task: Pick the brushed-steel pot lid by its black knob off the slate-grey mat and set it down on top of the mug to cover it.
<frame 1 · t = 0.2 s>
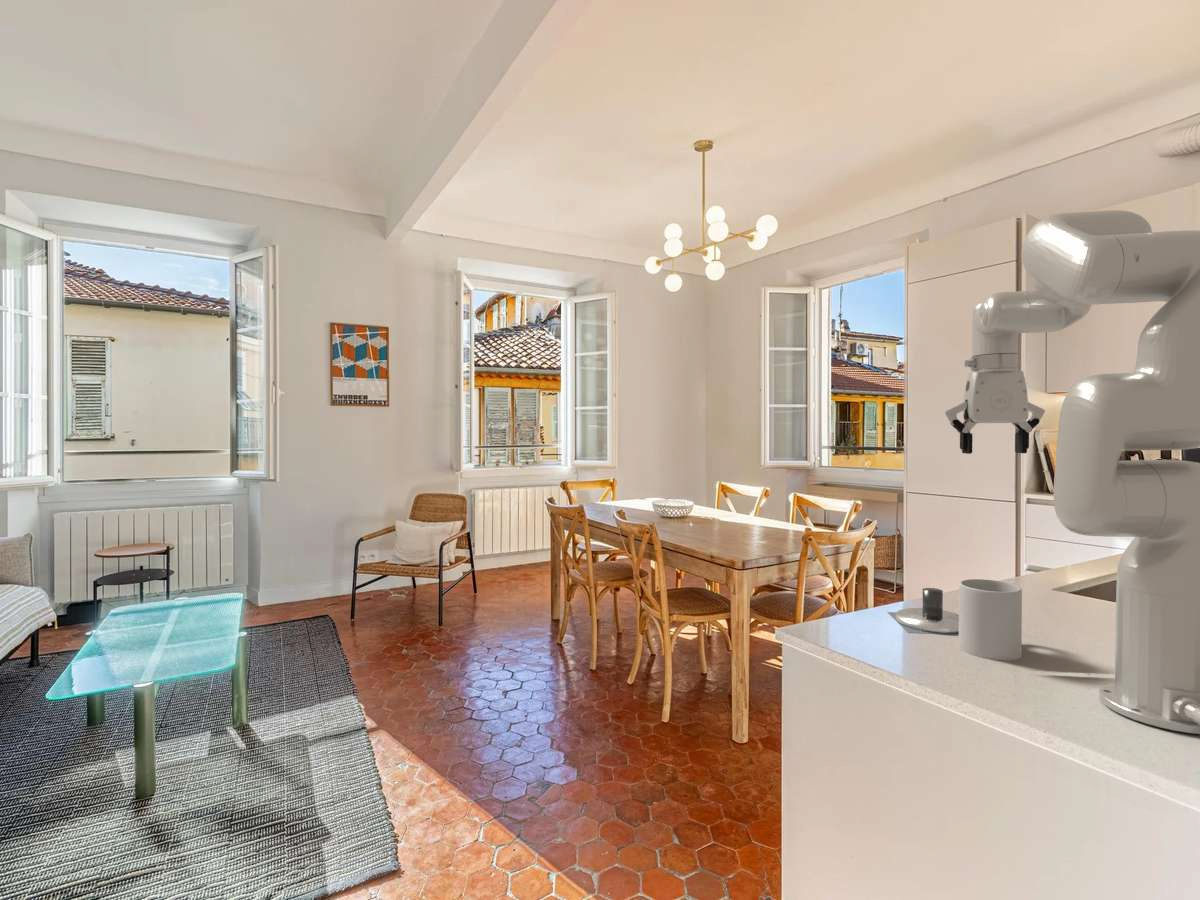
hand: (993, 453, 121), 31 cm above the table, fingers open, 9 cm apart
lid: (932, 623, 112), point 1 cm above the table, touching mat
mat: (932, 626, 112), on the table
mug: (993, 652, 99), on the table
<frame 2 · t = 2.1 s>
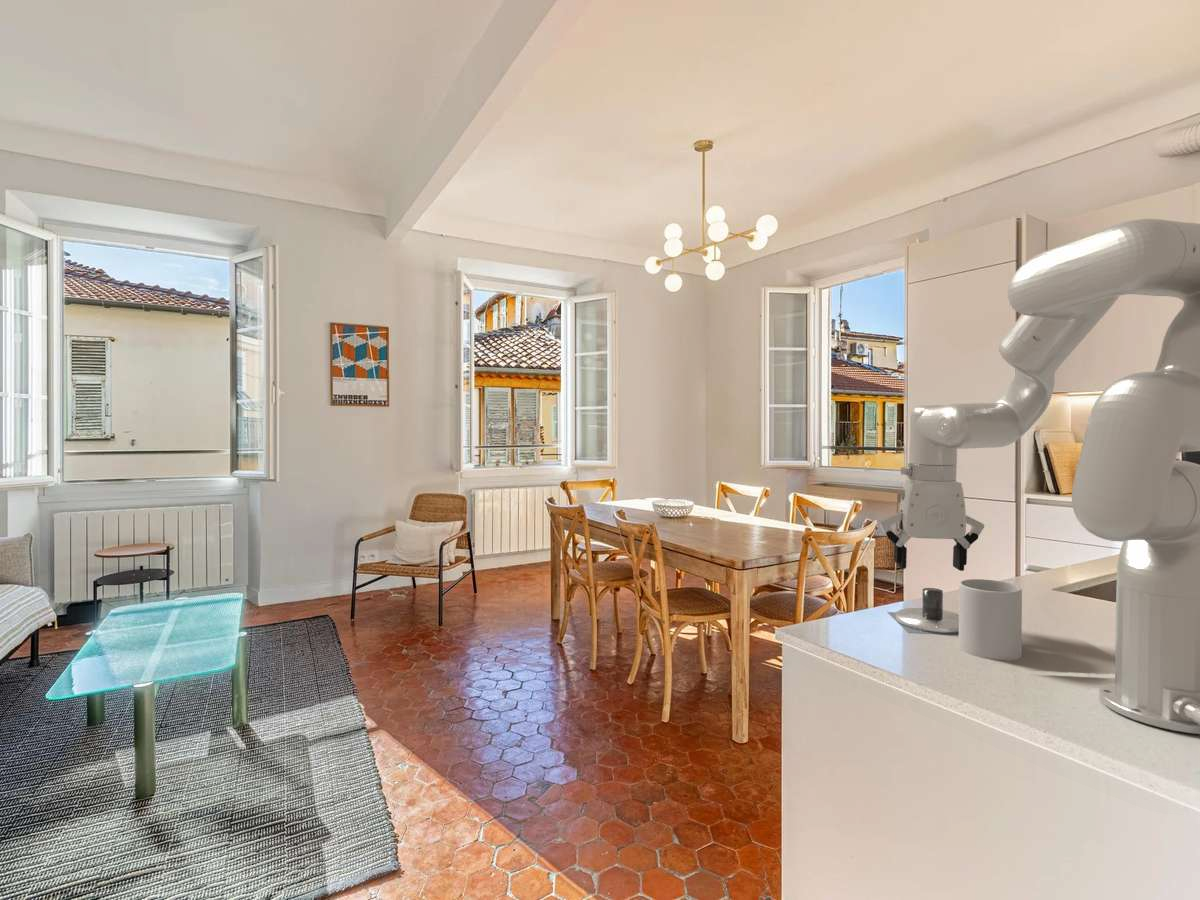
hand: (929, 568, 112), 10 cm above the table, fingers open, 9 cm apart
nothing on the table moved.
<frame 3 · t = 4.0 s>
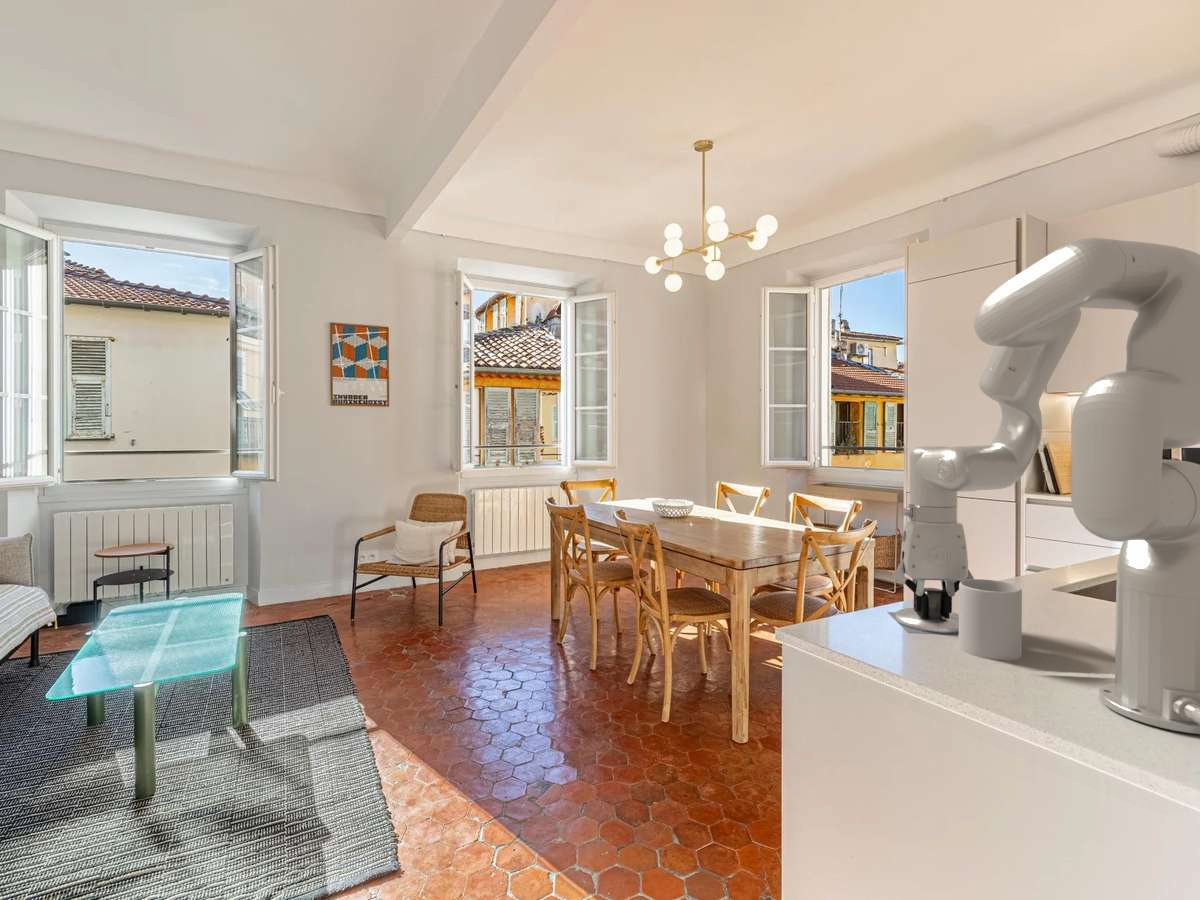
hand: (932, 615, 112), 2 cm above the table, fingers closed on lid, 3 cm apart
lid: (932, 622, 112), point 1 cm above the table, touching gripper, mat
everything else where it was.
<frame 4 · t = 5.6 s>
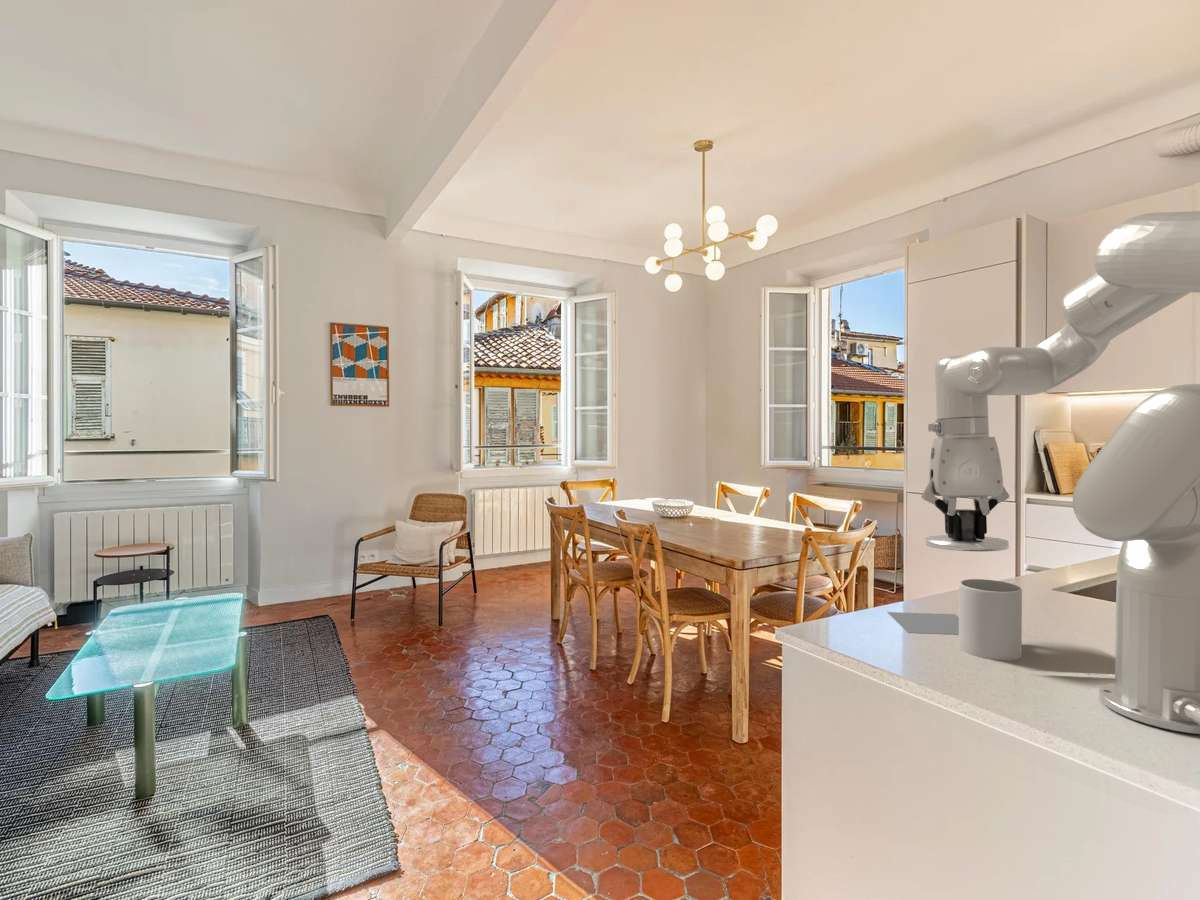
hand: (966, 537, 104), 17 cm above the table, fingers closed on lid, 3 cm apart
lid: (966, 545, 104), point 16 cm above the table, touching gripper
everything else where it was.
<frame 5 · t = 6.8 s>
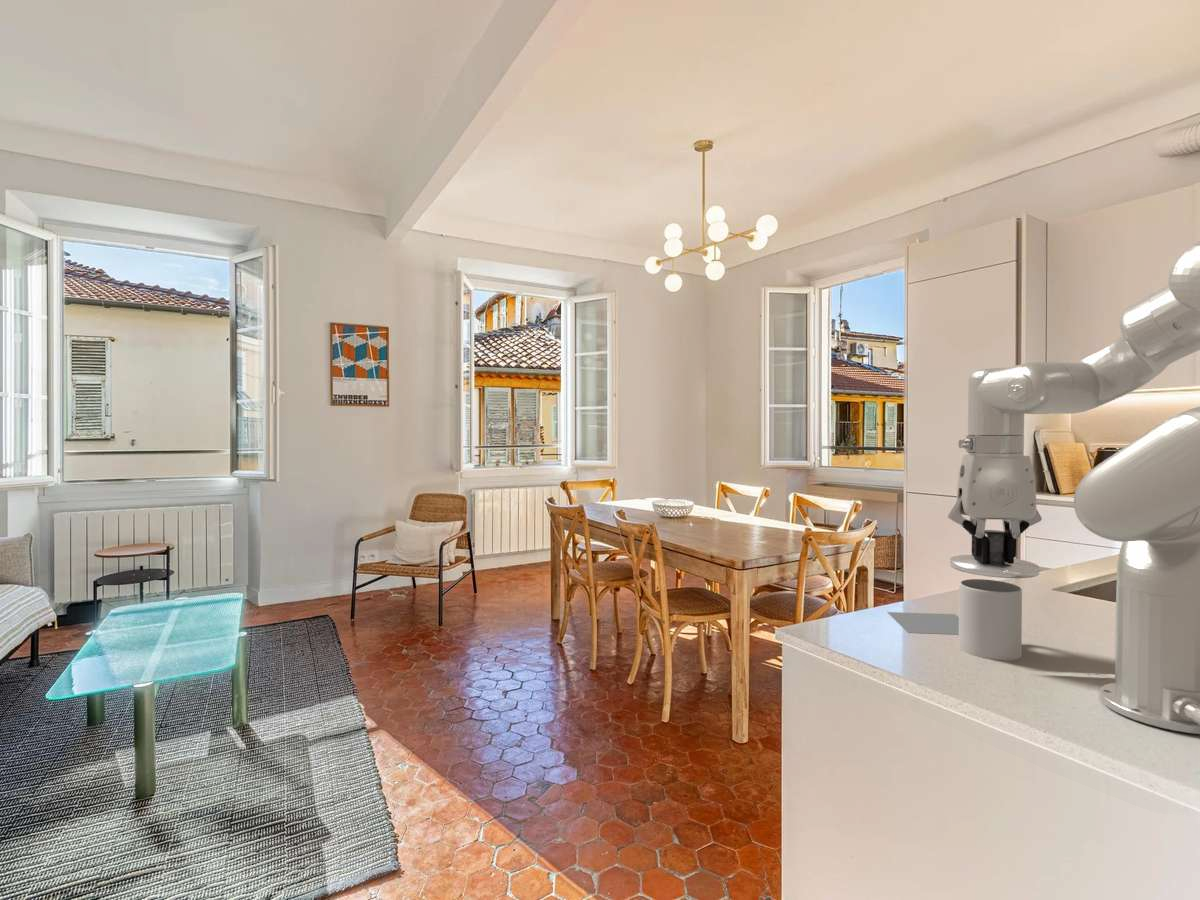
hand: (993, 560, 99), 15 cm above the table, fingers closed on lid, 3 cm apart
lid: (993, 568, 99), point 13 cm above the table, touching gripper
everything else where it was.
when the fingers open (14 cm above the table, at t = 7.6 s): lid drops 1 cm, resting on mug.
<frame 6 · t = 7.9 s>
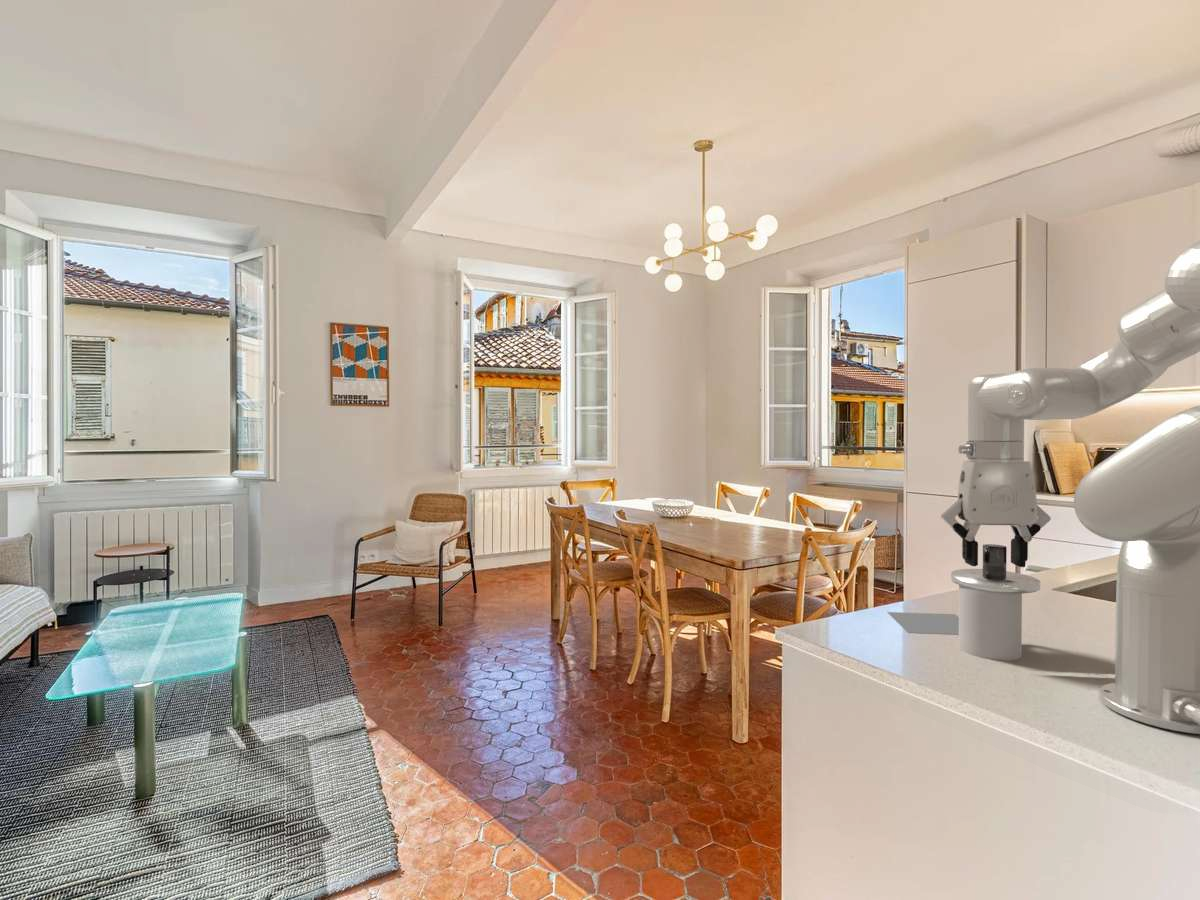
hand: (994, 563, 99), 14 cm above the table, fingers open, 6 cm apart
lid: (994, 583, 99), point 11 cm above the table, touching mug
mug: (993, 652, 99), on the table, touching lid
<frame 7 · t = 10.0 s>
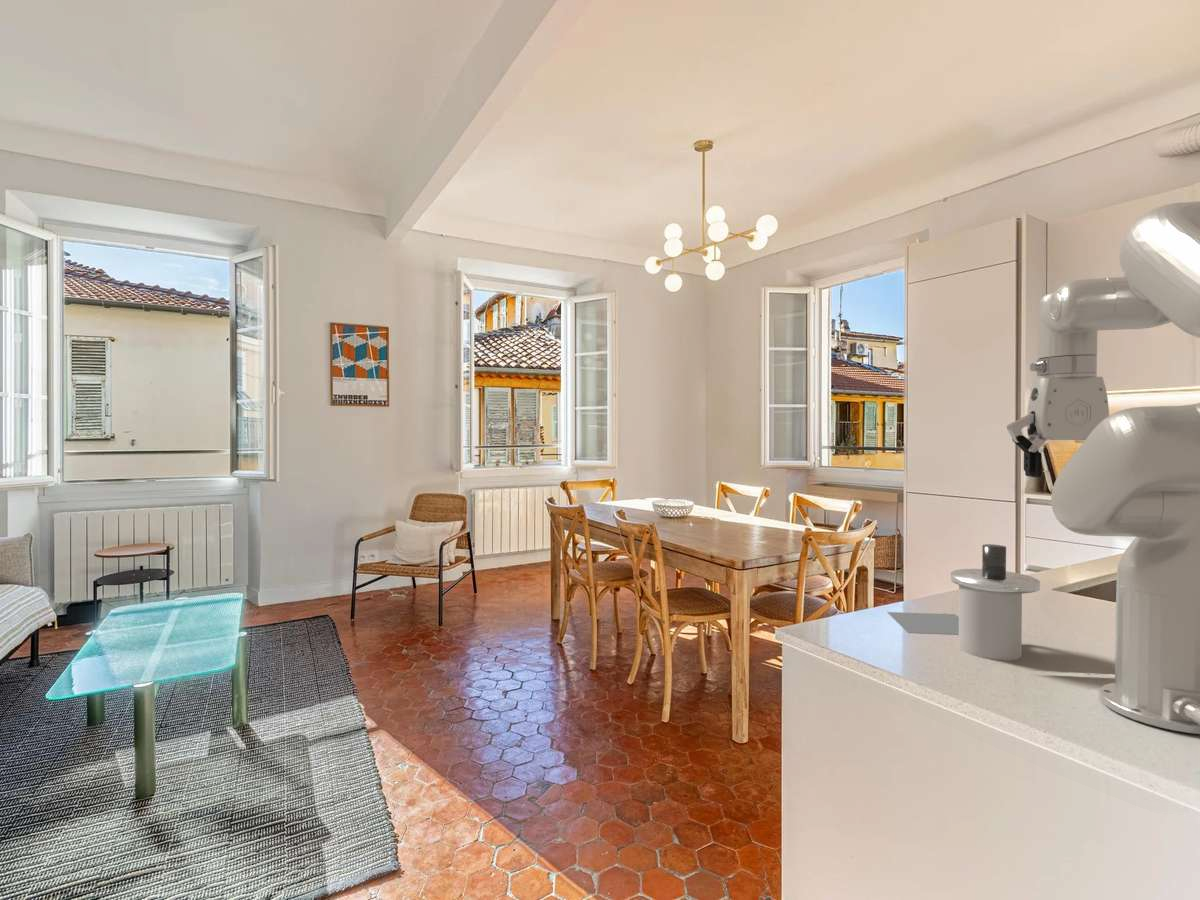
hand: (1064, 476, 99), 28 cm above the table, fingers open, 9 cm apart
nothing on the table moved.
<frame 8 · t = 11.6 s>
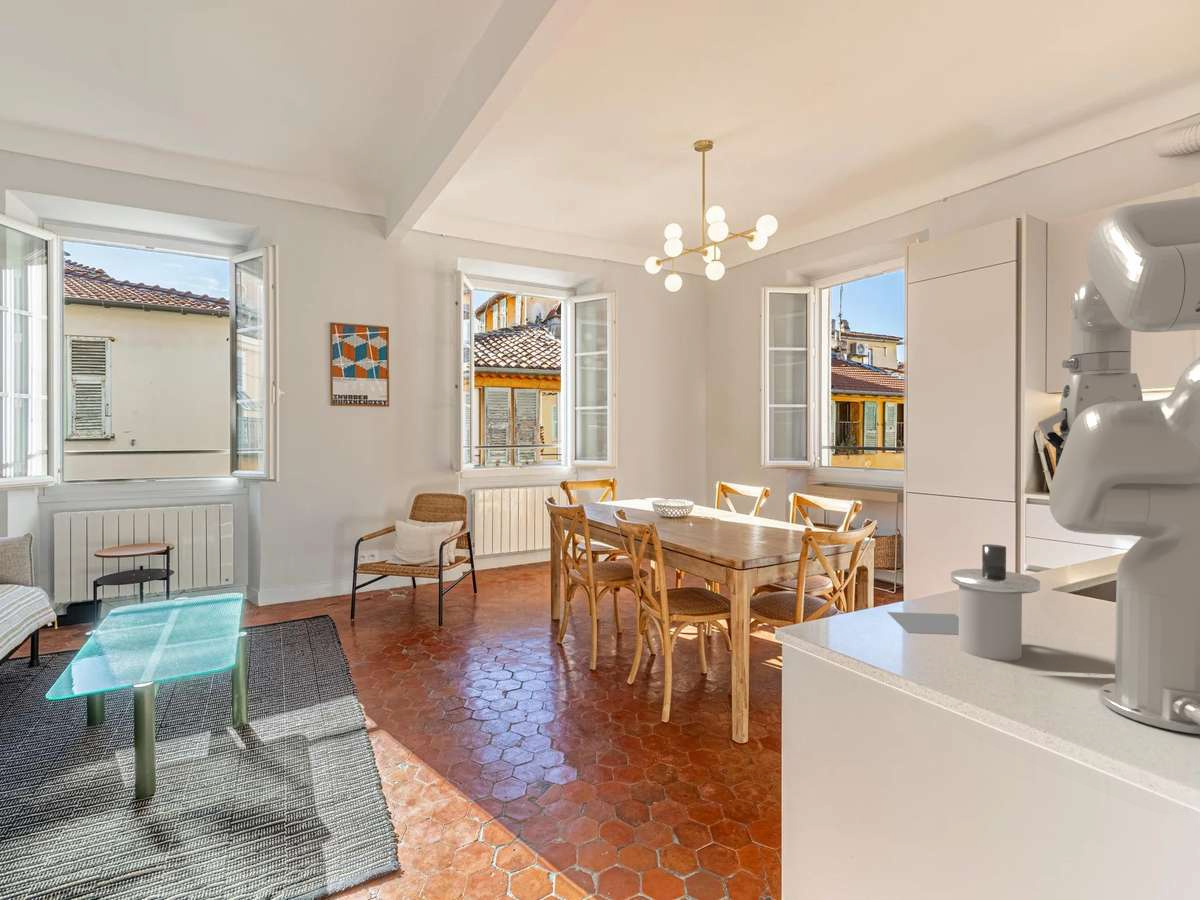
hand: (1098, 473, 99), 28 cm above the table, fingers open, 9 cm apart
nothing on the table moved.
at the end: lid inside the target area on the mug (0.1 cm from its centre), point 11.2 cm above the mug's base; lid tilted 0°; the gripper is holding nothing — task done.
